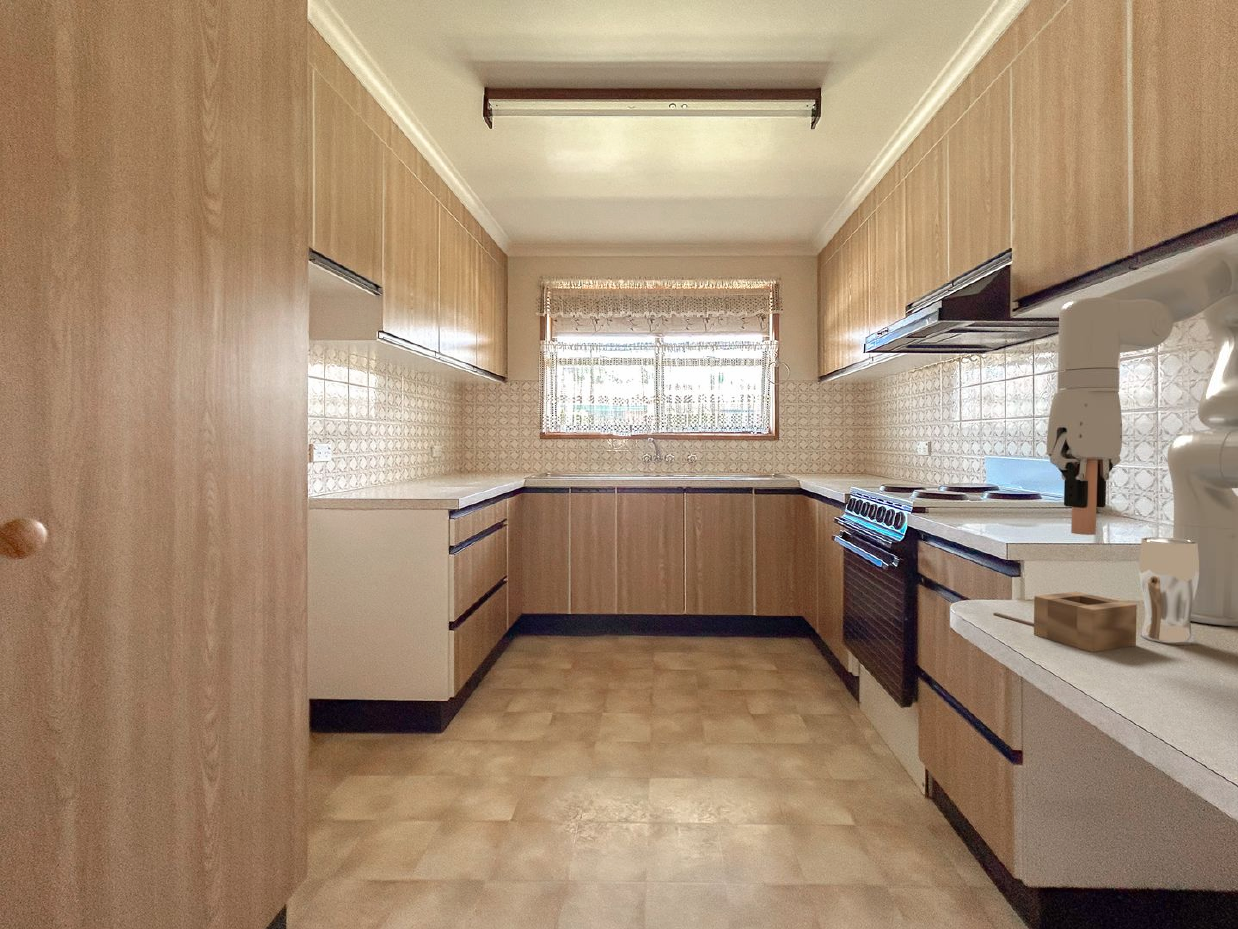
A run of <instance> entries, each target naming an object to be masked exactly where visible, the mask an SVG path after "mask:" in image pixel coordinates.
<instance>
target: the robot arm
mask: <svg viewBox="0 0 1238 929" xmlns="http://www.w3.org/2000/svg"><path fill="white" fill-rule="evenodd" d="M1201 312H1202V314H1203V318H1204V320H1205V323H1206V326H1207V329H1208V331H1209V334H1210V336H1211V338H1212V341H1213V344H1214V347H1215V358H1214V360H1213V364H1212V368H1211V371H1210V373H1209V375H1208V378H1207V381H1206V383H1205V386H1204V389H1203V392H1202V394H1201V397H1200V400H1199V404H1198V407H1197V414H1198V415H1197V416H1198V419H1199V421H1200V422H1201V424H1203V425H1204V426H1205V427H1207V428H1209V429H1203V430H1195V431H1190V432H1186V433H1183V434H1181V435H1179V436H1178V437H1176V438H1175V439H1173V440H1172V442H1171V443H1170V445H1169V447H1168V450H1167V454H1166V456H1167V466H1168V470H1169V475H1170V479H1171V483H1172V484H1171V485H1172V486H1171V487H1172V494H1173V532H1172V533H1173V534H1172V538H1176V539H1185V540H1191V541H1196V542H1198V553H1199V581H1198V586H1197V591H1196V595H1195V599H1194V603H1193V607H1192V611H1191V622H1194V623H1199V624H1208V625H1214V626H1215V625H1216V626H1226V627H1227V626H1228V627H1238V495H1237V494H1236V492H1235V491H1234V490H1233V489H1238V240H1235V241H1230V242H1227V243H1222V244H1218V245H1217V244H1216V245H1213V246H1209V247H1207V248H1203V249H1202V250H1200V251H1197V252H1196V253H1193V254H1191V255H1190V256H1189V257H1186V258H1185V259H1183V260H1181V261H1180V262H1178V263H1176V264H1174V265H1173V266H1171V267H1169V268H1168V269H1166V270H1164V271H1162V272H1161V273H1159V274H1155V275H1153V276H1150V277H1147V278H1144V279H1142V280H1140V281H1136V282H1135V283H1132V284H1130V285H1127V286H1125V287H1123V288H1120V289H1117V290H1114V291H1112V292H1108V293H1106V294H1103V295H1101V296H1098V297H1088V298H1087V297H1086V298H1079V299H1074V300H1072V301H1068V302H1067V303H1064V304H1063V305H1062V307H1061V308H1060V311H1059V314H1058V315H1059V318H1058V320H1059V322H1058V351H1057V352H1058V353H1057V357H1058V358H1057V359H1058V360H1057V392H1054V393H1053V394H1054V395H1053V397H1052V401H1051V405H1050V410H1049V417H1048V423H1047V434H1046V454H1047V456H1049V458H1050V459H1049V462H1050V464H1052V465H1053V466H1055V467H1056V468H1057V469H1058V470H1059V471H1060V472H1061V475H1060V476H1061V479H1062V480H1063V481H1064V486H1063V488H1064V489H1063V505H1064V506H1065V507H1069V508H1072V507H1077V508H1086V507H1087V505H1088V481H1083V480H1084V479H1085V471H1086V461H1087V459H1098V469H1097V506H1096V508H1105V507H1106V505H1107V504H1106V503H1107V502H1106V499H1107V496H1106V495H1107V481H1108V480H1110V473H1111V471H1112V470H1113V468H1114V467H1116V466H1117V465H1118V464H1120V463H1121V457H1120V455H1121V452H1122V447H1123V416H1122V407H1121V401H1120V400H1121V399H1120V394H1119V392H1120V375H1121V374H1120V372H1121V370H1120V369H1121V368H1120V367H1121V354H1122V353H1130V352H1131V353H1132V352H1138V351H1145V350H1150V349H1152V348H1156V347H1158V346H1160V345H1161V344H1163V343H1164V342H1165V341H1166V340H1167V339H1168V338H1169V337H1170V335H1171V333H1172V332H1173V328H1174V324H1177V323H1180V322H1184V321H1186V320H1189V319H1192V318H1194V317H1196V316H1197V315H1199V314H1200V313H1201ZM1073 457H1075V458H1077V459H1073ZM1073 463H1077V468H1076V467H1075V465H1074V464H1073Z"/></svg>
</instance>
